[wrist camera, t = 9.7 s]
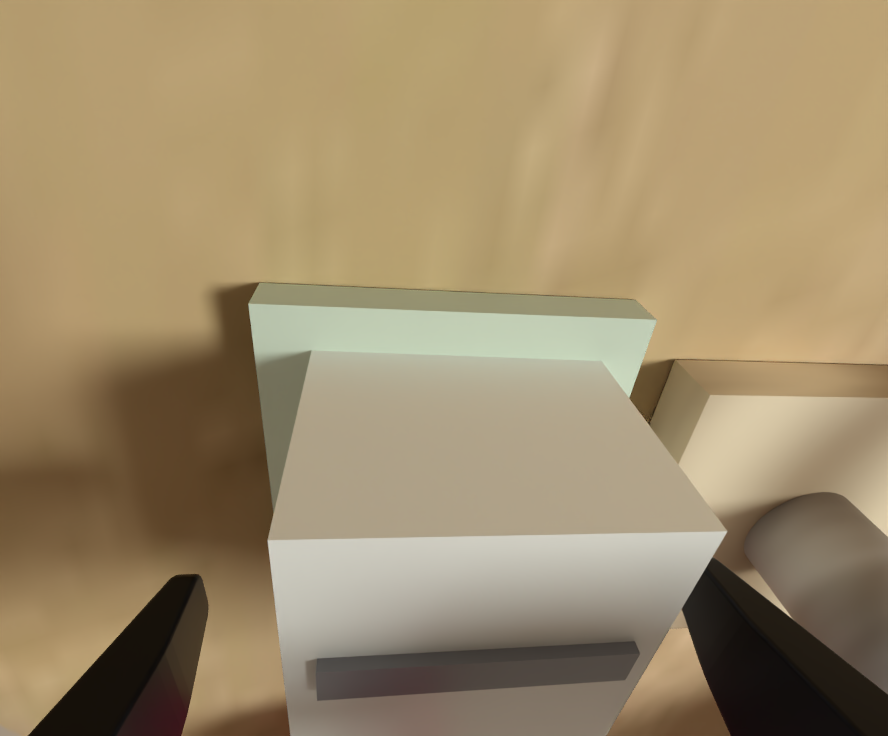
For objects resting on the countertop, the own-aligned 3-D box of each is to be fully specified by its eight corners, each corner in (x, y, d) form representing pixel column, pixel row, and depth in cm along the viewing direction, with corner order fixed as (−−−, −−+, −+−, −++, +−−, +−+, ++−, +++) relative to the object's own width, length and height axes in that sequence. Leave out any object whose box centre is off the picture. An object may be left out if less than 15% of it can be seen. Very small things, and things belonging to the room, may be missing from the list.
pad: (636, 299, 11) (656, 320, 10) (558, 540, 15) (568, 569, 14) (259, 282, 10) (248, 303, 9) (287, 548, 14) (281, 580, 13)
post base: (984, 368, 13) (1310, 533, 9) (819, 578, 18) (973, 760, 13) (674, 359, 12) (862, 549, 7) (584, 589, 17) (664, 793, 12)
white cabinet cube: (601, 360, 10) (736, 543, 7) (542, 547, 14) (609, 747, 10) (312, 350, 10) (264, 554, 6) (319, 552, 13) (291, 776, 9)
